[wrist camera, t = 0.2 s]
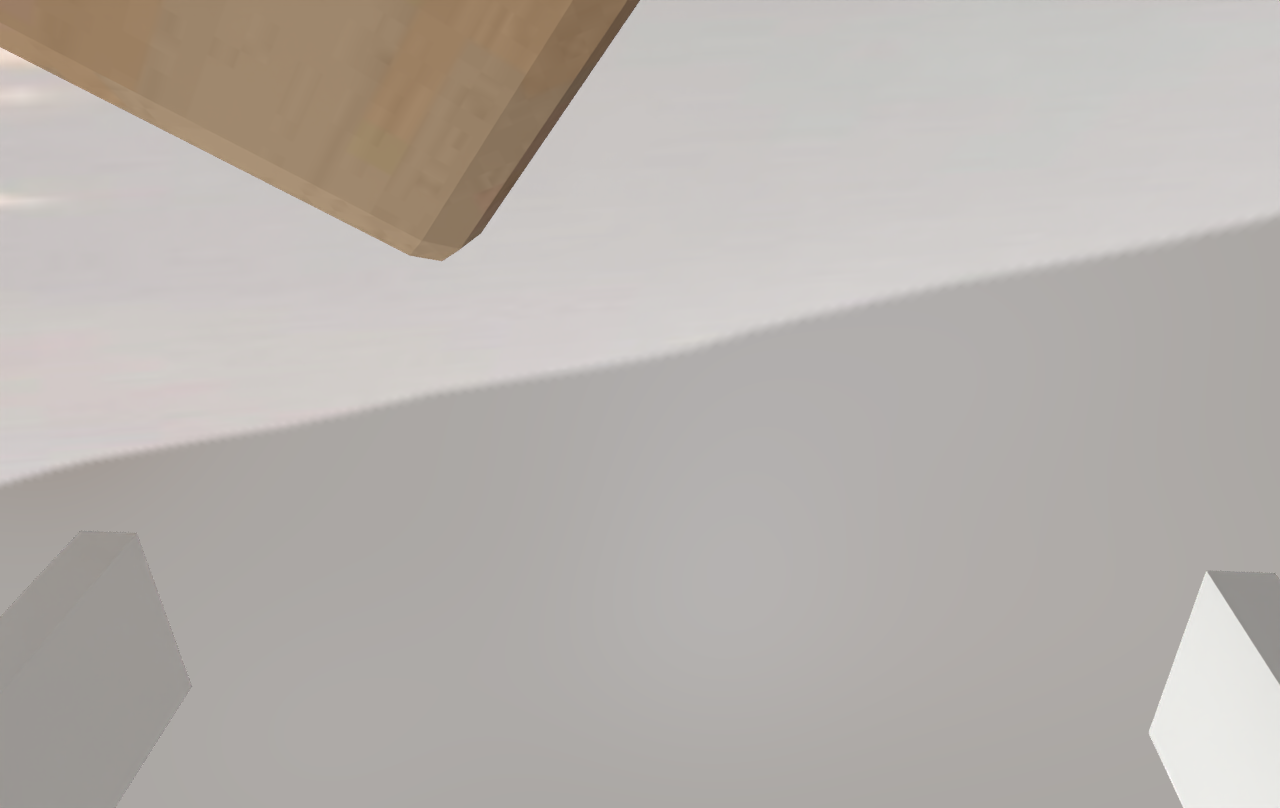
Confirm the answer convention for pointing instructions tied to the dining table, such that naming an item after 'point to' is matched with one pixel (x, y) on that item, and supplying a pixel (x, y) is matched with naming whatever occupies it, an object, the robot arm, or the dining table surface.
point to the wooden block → (340, 92)
